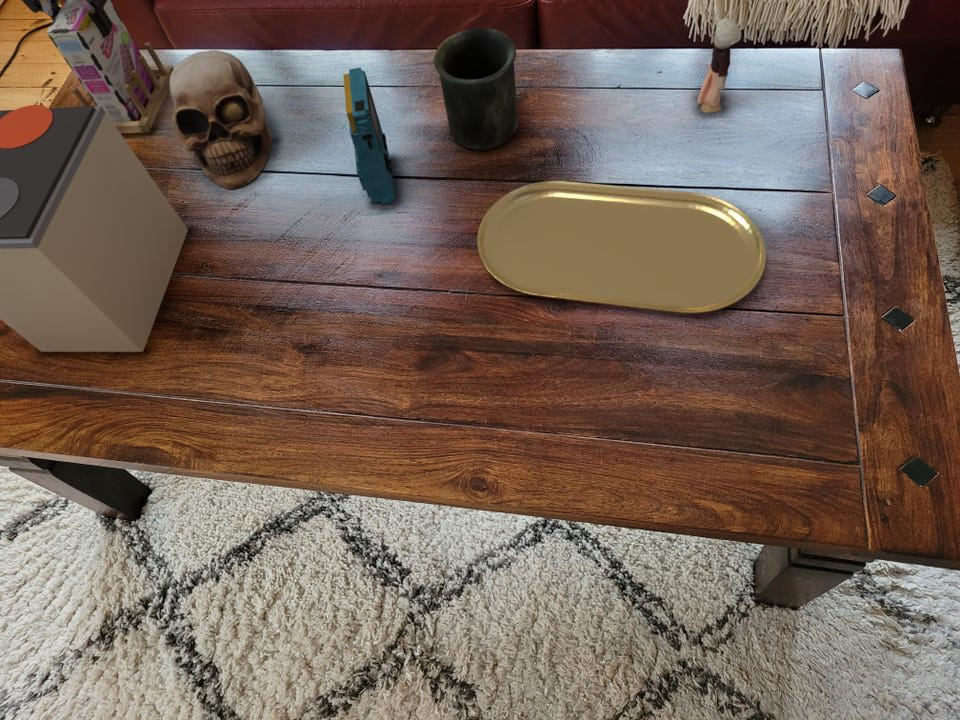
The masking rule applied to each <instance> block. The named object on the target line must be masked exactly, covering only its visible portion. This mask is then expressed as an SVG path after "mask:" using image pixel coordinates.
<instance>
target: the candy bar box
mask: <svg viewBox="0 0 960 720" xmlns="http://www.w3.org/2000/svg"><path fill="white" fill-rule="evenodd" d="M61 7H62V8H61V9H60V11H59V13H58V14H57V16H56V17H55V19H54V20H52V22H51V23H50V25H49V26H48V28H47V30H46V32H45V33H46V35H47V36H48V38H49V39H50V41H51V42H52V43H53V45H54V46H55V48H56V49H57V50H58V53H60V55H61V56H62V58H63V59H64V61H65V62H66V64H67V65H68V66H69V68H70V70H71V71H72V72H73V74H74V75H75V76H76V77H75V78H77V80H78V81H79V83H80V84H81V85H82V87H83V88H84V90H85V92H87V94H88V96H89V97H90V98H91V100H92V102H93V103H94V104H95V107H102V108H103V110H104V111H105V113H106V114H107V115H108V117H109V118H110V120H111V121H112V122H130V121H140V119H141V117H142V115H141V113H140V111H139V110H138V108H137V107H136V105H135V104H134V102H133V101H132V99H131V98H130V96H129V95H128V93H127V92H126V90H125V88H124V85H125V84H129V85H130V86H131V88H132V90H133V91H134V93H135V94H136V96H137V97H138V99H139V101H140V102H141V104H142V105H143V107H144V108H146V106H147V104H148V99H147V98H146V96H145V95H144V93H143V92H142V90H141V88H140V87H139V85H138V84H137V82H136V80H135V79H134V77H133V76H132V74H131V71H132V70H136V71H137V72H138V74H139V76H140V77H141V79H142V80H143V82H144V84H145V85H146V87H147V88H148V90H149V92H150V93H151V94H152V91H153V90H154V88H155V86H154V84H153V83H152V81H151V79H150V78H149V76H148V74H147V73H146V71H145V69H144V68H143V66H142V65H141V63H140V61H139V60H138V57H139V56H141V55H142V53H141V52H140V50H139V48H138V46H137V44H136V42H135V41H134V39H133V38H132V36H131V34H130V33H129V31H128V28H127V27H126V25H125V24H124V22H123V19H122V18H121V17H120V15H119V13H118V11H117V10H116V7H115V5H113V2H112V1H111V0H107V2H106V4H105V6H104V7H103V8H104V10H105V12H106V13H107V15H108V17H109V18H110V20H111V22H112V24H113V26H112V31H111V32H110V34H109V36H102V34H101V33H100V31H99V30H98V28H97V27H96V25H95V23H94V22H93V20H92V19H91V17H90V16H89V12H88V11H87V10H86V9H85V8H84V7H83V6H82V5H81V4H80V3H79V2H78V1H74V0H65V1H64V2H63V4H62V6H61Z"/></svg>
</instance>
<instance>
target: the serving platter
mask: <svg viewBox="0 0 960 720" xmlns="http://www.w3.org/2000/svg"><path fill="white" fill-rule="evenodd" d="M476 246H477V247H476V249H477V252H478V256H479V259H480V261H481V263H482V265H483V266H484V268H485V269H486V272H488V273H489V274H490V276H492V277H493V279H494V280H496V281H497V282H498V283H500V284H501V285H503V286H505V287H506V288H508V289H511V290H512V291H515V292H517V293H520V294H523V295H527V296H530V297H531V296H532V297H536V298H545V299H555V300H564V301H569V302H579V303H588V304H595V305H602V306H603V305H604V306H613V307H618V308H619V307H620V308H629V309H636V310H637V309H638V310H644V311H645V310H646V311H654V312H662V313H671V314H678V315H699V314H709V313H713V312H716V311H720V310H723V309H726V308H728V307H730V306H733V305H734V304H736V303H738V302H740V301H741V300H743V299H744V298H745V297H747V296H748V295H749V294H750V293H751V292H752V291H753V290H754V289H755V288H756V286H757V285H758V283H759V282H760V280H761V278H762V276H763V274H764V272H765V268H766V263H767V249H766V245H765V241H764V238H763V236H762V233H761V231H760V229H759V228H758V226H757V225H756V224H755V223H754V222H753V220H752V219H751V218H750V217H749V216H748V215H747V214H746V213H745V212H744V211H742V210H741V209H739V208H738V207H736V206H735V205H733V204H731V203H729V202H728V201H726V200H723V199H721V198H718V197H716V196H712V195H709V194H705V193H701V192H693V191H683V190H682V191H681V190H670V189H669V190H668V189H659V188H647V187H646V188H645V187H634V186H622V185H613V184H612V185H611V184H598V183H586V182H576V181H566V180H565V181H564V180H547V181H539V182H533V183H530V184H526V185H523V186H520V187H518V188H516V189H513V190H512V191H509V192H507V193H506V194H504V195H503V196H501V197H500V198H499V199H498V200H496V202H494V203H493V204H492V205H491V206H490V207H489V209H488V210H487V212H485V214H484V216H483V218H482V219H481V222H480V224H479V227H478V231H477V236H476Z"/></svg>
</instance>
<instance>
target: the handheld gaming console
mask: <svg viewBox="0 0 960 720" xmlns="http://www.w3.org/2000/svg"><path fill="white" fill-rule="evenodd" d="M342 76H343V88H344V101H345V113H346V117H347V120H348V124H349V135H350V138H351V141H352V143H353V147H354V158H355V169H356V174H357V177H358V180H359V182H360V186H361V188H362V190H363V191H366V194H367V197H368V199H369V198H371V200H372V203H373V204H376V203H381V205H382V206H386V205H387V206H388V205H392V204H394V200H395V199H396V192H395V186H394V178H393V174H394V172H393V167H392V159H391V157H390V152H389V149H388V143H387V137H386V134H385V133H384V132H383V129H382V124H381V121H380V118H379V115H378V112H377V107H376V104H375V101H374V98H373V94H372V90H371V88H370V83H369V81H368V77H367V74H366V71H365V70H362V68H361V66H360V67H355V68H349V69H348V73H343V75H342Z"/></svg>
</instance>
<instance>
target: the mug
mask: <svg viewBox="0 0 960 720" xmlns="http://www.w3.org/2000/svg"><path fill="white" fill-rule="evenodd" d="M433 57H434V58H433V66H434V68H435V71H436V72H437V73H438V75H439V80H440V85H441V91H442V97H443V101H444V107H445V113H446V117H447V118H446V119H447V123H448V129H449V132H450V133H449V134H450V135H451V138H452V139H454V141H456V143H458V144H459V145H461V146H463V147H464V148H468V149H470V150H476V151H485V150H491V149H494V148H497V147H499V146H501V145H504V143H506V142H508V141H509V140H510V139H511V138H512V136H513V135H514V133H515V132H516V130H517V129H518V124H519V113H518V100H517V99H518V98H517V86H516V85H517V84H516V74H515V61H516V57H517V48H516V45H515V43H514V41H513V40H512V38H511V37H510V36H508V35H507V34H506V33H504V32H502V31H499V30H497V29H493V28H486V27H484V28H483V27H478V28H477V27H476V28H468V29H465V30H461V31H459V32H457V33H454V34H453V35H450V36H448V37H447V38H446V39H444V40H443V42H441V43H440V44H439V46H438V47H437V49H436V50H435V53H434V56H433Z"/></svg>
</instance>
